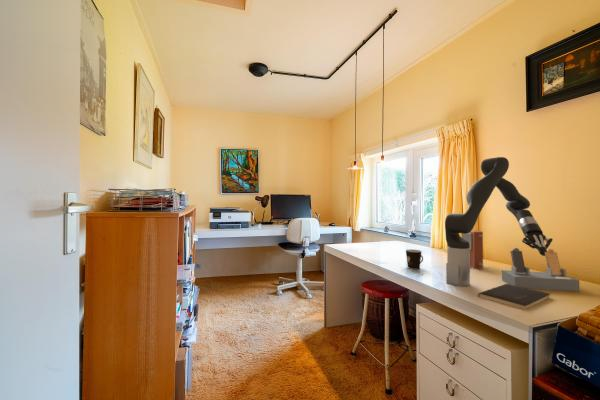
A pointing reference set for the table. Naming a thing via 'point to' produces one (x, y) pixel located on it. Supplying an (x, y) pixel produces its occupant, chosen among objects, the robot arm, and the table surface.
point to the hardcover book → (514, 296)
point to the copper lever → (553, 261)
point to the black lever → (518, 260)
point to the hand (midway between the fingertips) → (544, 254)
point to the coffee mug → (414, 258)
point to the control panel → (475, 247)
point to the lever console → (540, 280)
